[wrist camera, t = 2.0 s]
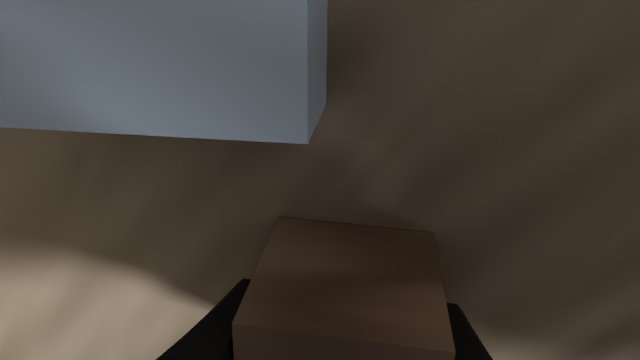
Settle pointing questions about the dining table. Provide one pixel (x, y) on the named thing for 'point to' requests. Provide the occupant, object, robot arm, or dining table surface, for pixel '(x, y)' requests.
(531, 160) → the dining table surface
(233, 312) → the robot arm
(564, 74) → the dining table surface
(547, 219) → the dining table surface
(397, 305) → the walnut cube
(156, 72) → the base block
